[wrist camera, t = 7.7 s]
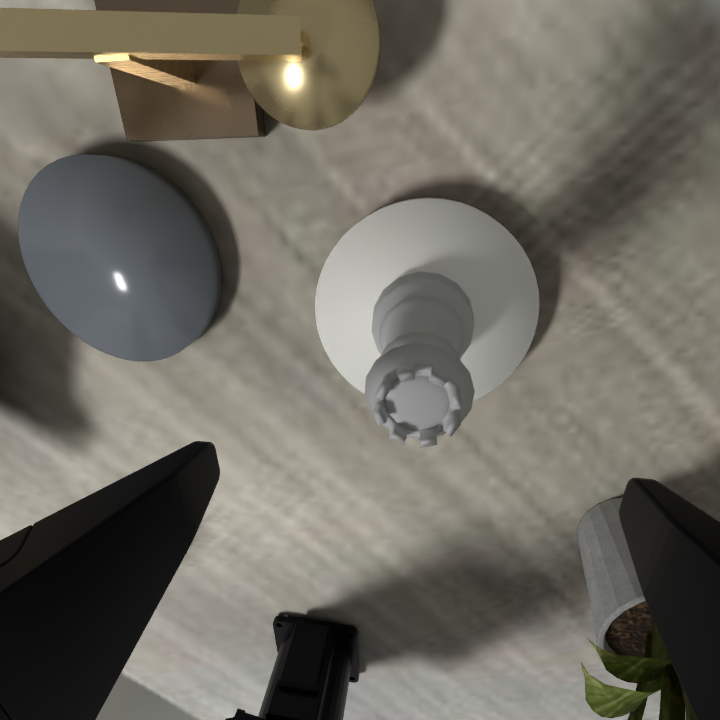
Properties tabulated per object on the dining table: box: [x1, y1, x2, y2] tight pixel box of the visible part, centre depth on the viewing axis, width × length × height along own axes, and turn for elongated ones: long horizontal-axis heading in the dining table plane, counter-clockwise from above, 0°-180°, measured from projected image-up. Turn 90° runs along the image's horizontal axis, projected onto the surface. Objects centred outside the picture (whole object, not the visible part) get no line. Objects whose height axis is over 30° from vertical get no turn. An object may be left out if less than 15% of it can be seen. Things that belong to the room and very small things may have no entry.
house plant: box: [577, 498, 696, 720], centre depth 16 cm, size 14×14×16 cm
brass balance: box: [0, 0, 381, 142], centre depth 14 cm, size 5×16×7 cm, turn 91°
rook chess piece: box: [365, 272, 475, 448], centre depth 15 cm, size 4×4×8 cm
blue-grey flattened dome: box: [18, 154, 222, 361], centre depth 21 cm, size 10×10×1 cm
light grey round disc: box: [315, 197, 539, 401], centre depth 19 cm, size 10×10×1 cm
